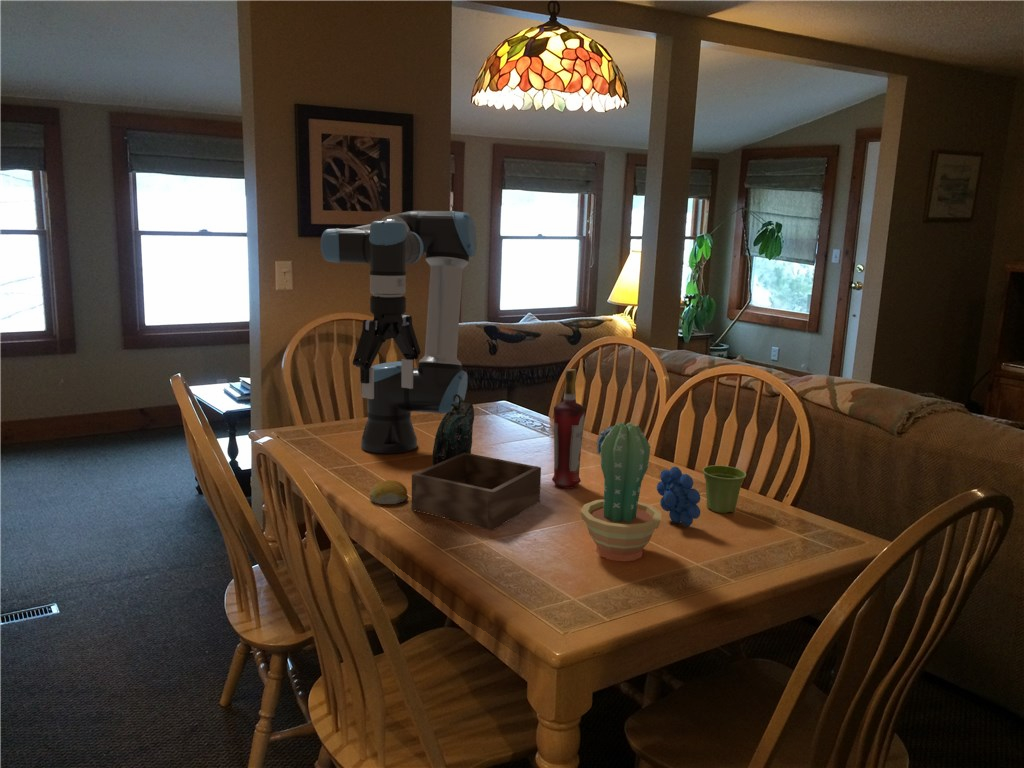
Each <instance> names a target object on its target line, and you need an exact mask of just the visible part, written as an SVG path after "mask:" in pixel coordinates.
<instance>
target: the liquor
mask: <svg viewBox="0 0 1024 768" xmlns="http://www.w3.org/2000/svg"><path fill="white" fill-rule="evenodd" d="M564 372H565V374H564V378H565V379H564V380H565V386H564V393H563V394H564V395H563V401H561V402H559V403H558V404H556V405H555V406H554V407H553V444H554V445H553V447H554V449H553V450H554V451H553V454H554V457H553V462H554V463H553V464H554V465H553V467H554V468H553V475H552V478H551V480H552V482H553V483H554V484H555V485H556V486H557V487H559V488H561V489H563V488H564V489H572V488H575V487H576V486H577V485H578V484H580V483H581V482H582V481H581V478H580V467H581V466H580V465H581V455H582V445H583V435H584V426H585V425H584V424H585V423H584V422H585V415H586V413H585V412H586V408H585V407H584V406H583V405H582V404H580V403H578V402H577V398H576V397H577V394H576V393H577V392H576V380H577V375H578V374H577V373H578V370H577V369H574V368H573V369H572V368H567V369H565V370H564Z"/></svg>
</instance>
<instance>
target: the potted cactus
mask: <svg viewBox="0 0 1024 768" xmlns="http://www.w3.org/2000/svg"><path fill="white" fill-rule="evenodd" d="M595 444H596V445H597V446H596V447H597V450H596V452H597V454H598V455H600V467H601V471H602V475H603V478H604V479H603V480H604V485H603V486H604V487H603V490H604V491H603V499H595V500H593V501H590V502H587V503H585V504H584V503H583V506H582V508H581V510H580V514H581V519H582V520H583V521H584V523H585V525H586V527H587V530H588V535H589V536H590V537H591V539H592V540H593V542H594V543H595V545H596V550H595V552H596V553H597V554H598V555H599V556H600V557H602V558H605V559H607V560H610V561H616V562H617V561H618V562H631V561H636V560H638V559H640V558H642V557H643V552H644V551H643V549H644V548H645V547H646V546H647V545H648V543H650V541H651V539H652V536H653V534H654V532H655V529H658V528H659V527H660V523H661V520H662V515H663V513H662V512H661V511H660V510H658V508H656V507H655V506H654V505H651V504H647V503H644V502H641V501H639V499H640V493H641V489H642V488H641V487H642V482H643V480H644V477H645V476H646V473H647V471H648V468H649V461H650V454H651V445H650V442H649V440H648V439H647V436H646V435H645V434H644V433H643V431H642V429H641V427H640V426H639V424H635V425H634V424H633V422H627V423H626V424H625V423H623V422H618V423H615V425H612V426H608V427H607V428H606V429H605V428H604V429H603V430H602V431H601V432H600V433H599V435H598V437H597V439H596V443H595Z"/></svg>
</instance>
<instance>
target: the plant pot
mask: <svg viewBox="0 0 1024 768" xmlns="http://www.w3.org/2000/svg"><path fill="white" fill-rule="evenodd" d="M702 473H703V476H704V479H705V492H706V494H705V495H706V507H707V509H709V510H711V511H713V512H714V513H721V514H727V513H733V512H735V511H736V508H737V503H738V499H739V496H740V491H741V486H742V484H743V482H744V479H745V478H746V477H747V473H746V471H744V470H742V469H740V468H738V467H734V466H728V465H719V464H715V465H707V466H705V467H703V468H702Z"/></svg>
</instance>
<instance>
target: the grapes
mask: <svg viewBox="0 0 1024 768" xmlns="http://www.w3.org/2000/svg"><path fill="white" fill-rule="evenodd" d="M659 476H660V477H659V478H660V480H661V481H658V482H657V485H656V491H657V493H658V494H659V496H661V499H660V501H659V504H660V508H661V509H662V510H664V511H665V512H669V513H668V516H669V519H670V521H672V522H673V523H674V524H680V523H681V524H682V525H683V526H685V527H691V526H692V525H693V523H694V520H695V519H696V520H697V519H699V517H700V516H701V509H700V507H699V506H698V504H699V503H700V502H701V494H700V492H699V491H698V490H697V489H696V488H693V486H694V480H693V478H692V477H691V475H689V474H687V473H685V474H684V473H683V472H682V470H681V469H680V468H679V467H678V466H672V467H671V468H670V469H669V470H668V469H663V470H662V471H660V475H659Z"/></svg>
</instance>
